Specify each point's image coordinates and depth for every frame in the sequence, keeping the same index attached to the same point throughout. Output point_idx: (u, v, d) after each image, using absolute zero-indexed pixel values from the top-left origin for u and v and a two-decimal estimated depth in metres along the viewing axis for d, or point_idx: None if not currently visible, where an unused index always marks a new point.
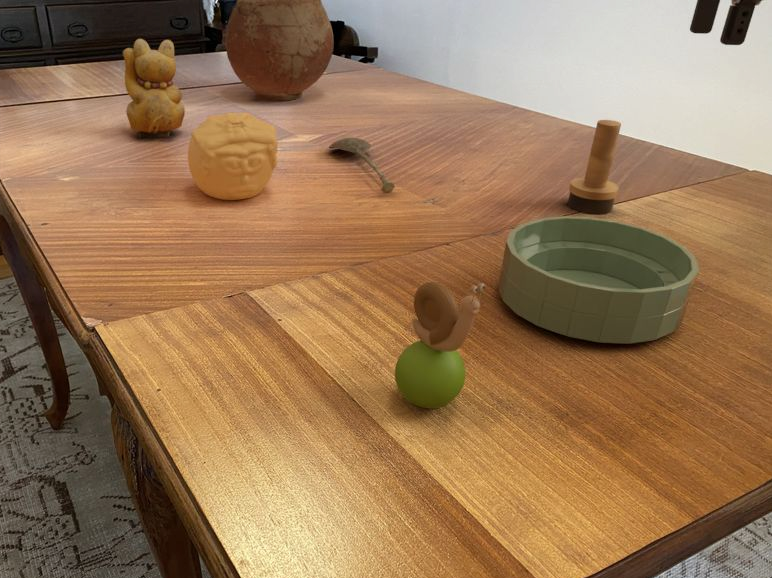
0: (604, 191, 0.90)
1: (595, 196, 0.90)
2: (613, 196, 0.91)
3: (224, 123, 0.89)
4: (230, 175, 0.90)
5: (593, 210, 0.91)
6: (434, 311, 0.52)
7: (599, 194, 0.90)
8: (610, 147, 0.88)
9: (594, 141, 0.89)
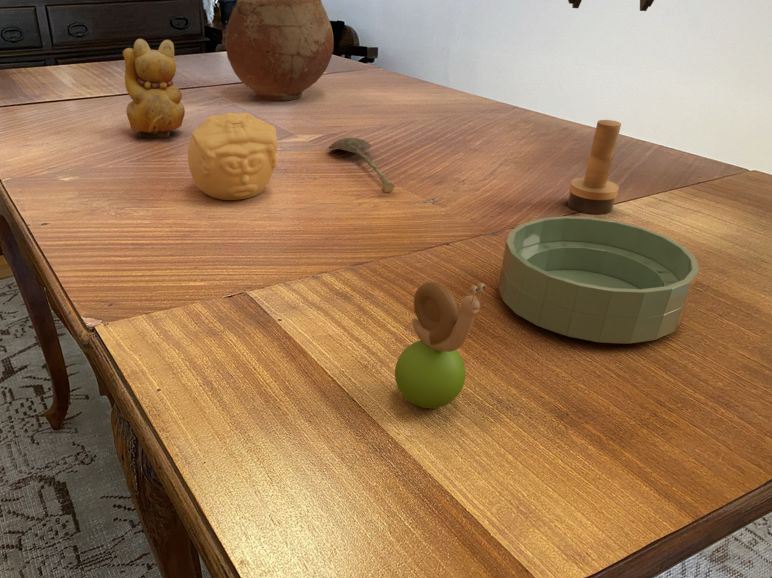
0: (604, 191, 0.90)
1: (595, 196, 0.90)
2: (613, 196, 0.91)
3: (224, 123, 0.89)
4: (230, 175, 0.90)
5: (593, 210, 0.91)
6: (434, 311, 0.52)
7: (599, 194, 0.90)
8: (610, 147, 0.88)
9: (594, 141, 0.89)
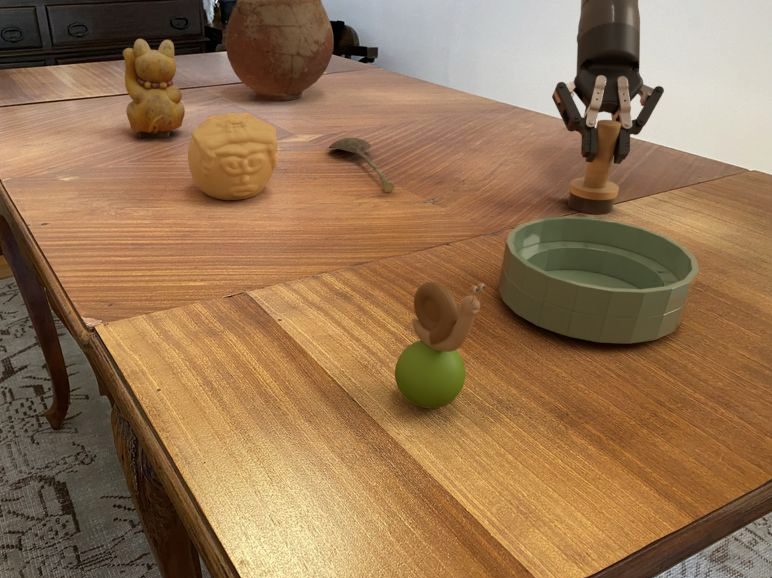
0: (604, 191, 0.90)
1: (595, 196, 0.90)
2: (613, 196, 0.91)
3: (224, 123, 0.89)
4: (230, 175, 0.90)
5: (593, 210, 0.91)
6: (434, 311, 0.52)
7: (599, 194, 0.90)
8: (610, 147, 0.88)
9: None
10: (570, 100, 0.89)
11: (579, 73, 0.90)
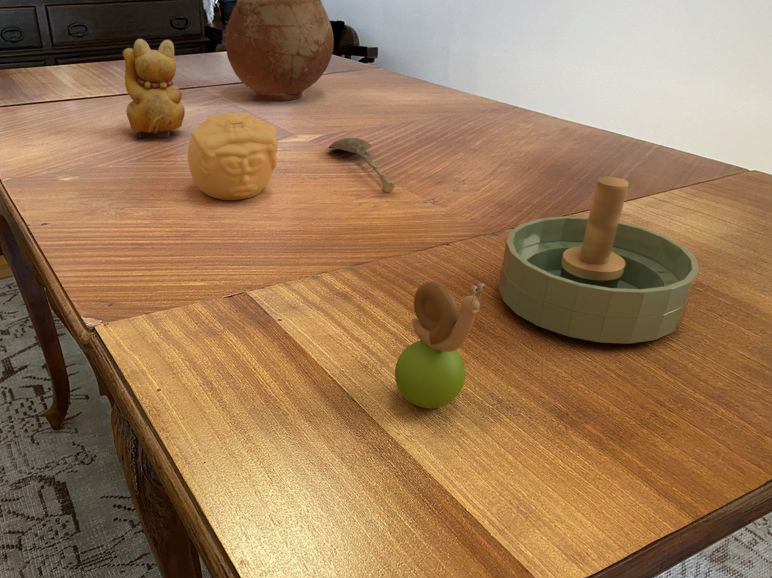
0: (605, 269, 0.69)
1: (592, 275, 0.69)
2: (617, 276, 0.69)
3: (224, 123, 0.89)
4: (230, 175, 0.90)
5: None
6: (433, 311, 0.52)
7: (598, 273, 0.69)
8: (613, 213, 0.67)
9: (593, 204, 0.68)
10: None
11: None
